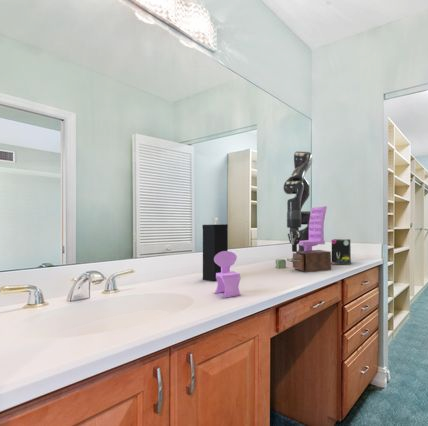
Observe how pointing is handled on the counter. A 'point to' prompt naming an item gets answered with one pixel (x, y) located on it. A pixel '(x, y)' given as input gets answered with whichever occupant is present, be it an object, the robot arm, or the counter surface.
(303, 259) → the drawer
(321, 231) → the purple chair
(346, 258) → the tampon box
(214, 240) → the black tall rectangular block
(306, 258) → the cabinet
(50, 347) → the counter surface
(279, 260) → the block
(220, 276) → the toy chair
